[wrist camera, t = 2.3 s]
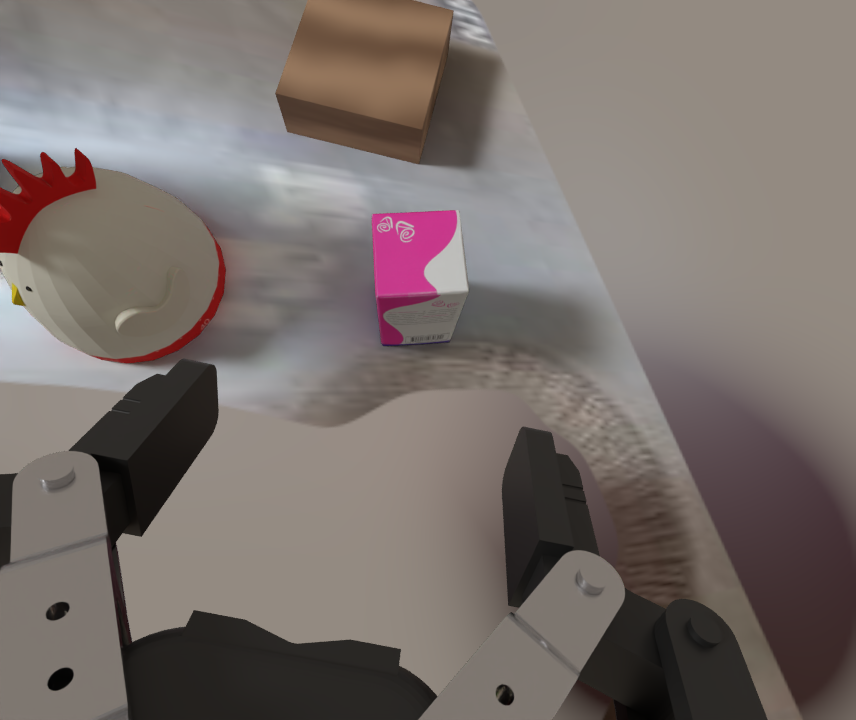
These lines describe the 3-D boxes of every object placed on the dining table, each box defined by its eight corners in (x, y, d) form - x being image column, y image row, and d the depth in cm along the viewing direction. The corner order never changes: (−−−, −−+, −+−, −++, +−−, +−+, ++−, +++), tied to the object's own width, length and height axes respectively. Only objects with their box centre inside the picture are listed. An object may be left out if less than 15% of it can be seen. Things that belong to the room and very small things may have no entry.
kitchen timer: (9, 284, 40) (-212, 178, 25) (142, 171, 43) (12, 17, 28) (133, 399, 39) (-25, 357, 24) (261, 275, 41) (190, 170, 27)
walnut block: (418, 166, 45) (422, 129, 40) (288, 134, 45) (275, 93, 40) (447, 57, 48) (453, 10, 43) (324, 26, 47) (316, -25, 42)
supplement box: (444, 275, 43) (463, 207, 31) (450, 343, 41) (472, 297, 30) (376, 279, 42) (370, 210, 31) (380, 347, 41) (375, 302, 30)
